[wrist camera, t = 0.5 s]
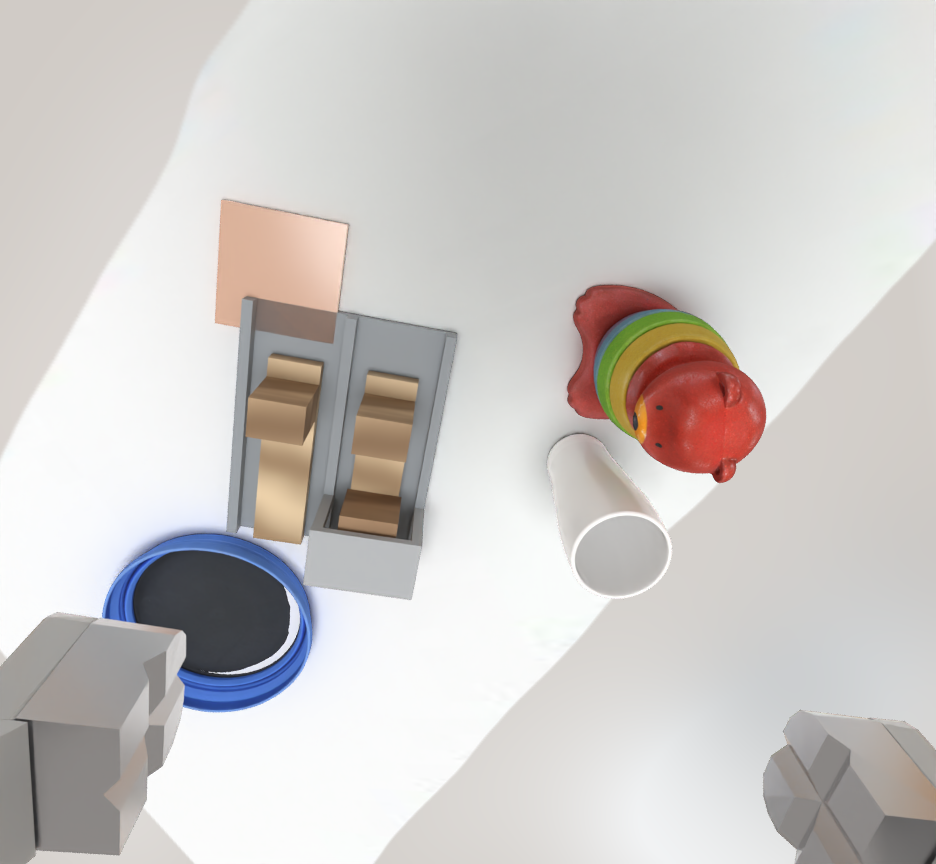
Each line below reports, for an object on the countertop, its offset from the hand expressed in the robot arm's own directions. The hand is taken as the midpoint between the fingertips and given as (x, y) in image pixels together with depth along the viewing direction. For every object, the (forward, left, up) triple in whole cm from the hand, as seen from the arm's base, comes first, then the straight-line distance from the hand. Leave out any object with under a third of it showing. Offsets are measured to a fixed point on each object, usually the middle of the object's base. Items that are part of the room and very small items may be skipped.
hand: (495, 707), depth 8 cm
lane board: (+15, -7, -43) cm, 46 cm away
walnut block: (+22, -3, -41) cm, 47 cm away
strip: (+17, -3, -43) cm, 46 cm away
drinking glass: (+14, +13, -43) cm, 48 cm away
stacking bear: (+4, +15, -43) cm, 46 cm away
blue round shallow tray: (+35, -16, -44) cm, 58 cm away
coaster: (+3, -13, -43) cm, 45 cm away
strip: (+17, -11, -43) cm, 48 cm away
